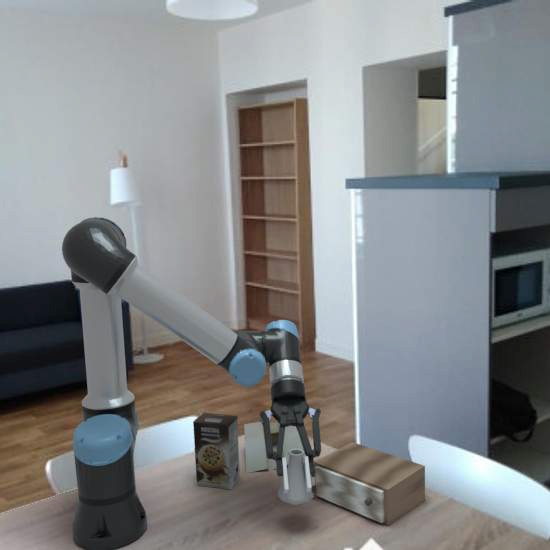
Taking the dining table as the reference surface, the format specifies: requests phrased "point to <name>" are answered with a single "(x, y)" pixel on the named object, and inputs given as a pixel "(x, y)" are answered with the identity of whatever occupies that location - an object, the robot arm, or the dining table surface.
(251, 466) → the grooved block with hole
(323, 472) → the cabinet
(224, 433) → the coffee box
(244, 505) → the dining table surface
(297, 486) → the flask
